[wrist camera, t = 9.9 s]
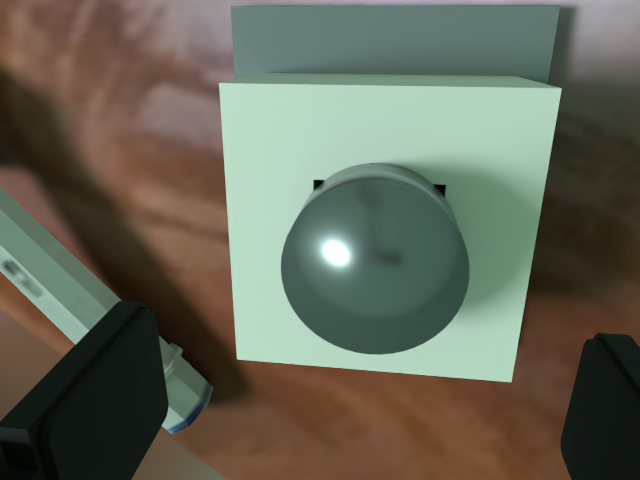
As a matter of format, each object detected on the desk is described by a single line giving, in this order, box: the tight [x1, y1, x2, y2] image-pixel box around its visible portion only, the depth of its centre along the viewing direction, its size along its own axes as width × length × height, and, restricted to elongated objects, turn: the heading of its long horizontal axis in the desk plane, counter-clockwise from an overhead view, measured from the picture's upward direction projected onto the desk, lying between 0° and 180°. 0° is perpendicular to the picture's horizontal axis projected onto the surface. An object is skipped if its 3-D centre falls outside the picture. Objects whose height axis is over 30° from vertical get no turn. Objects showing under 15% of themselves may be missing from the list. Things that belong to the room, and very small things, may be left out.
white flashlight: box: [0, 187, 213, 435], centre depth 29 cm, size 5×7×25 cm
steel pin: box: [281, 163, 470, 355], centre depth 21 cm, size 6×6×9 cm
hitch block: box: [219, 5, 562, 382], centre depth 24 cm, size 18×15×8 cm
